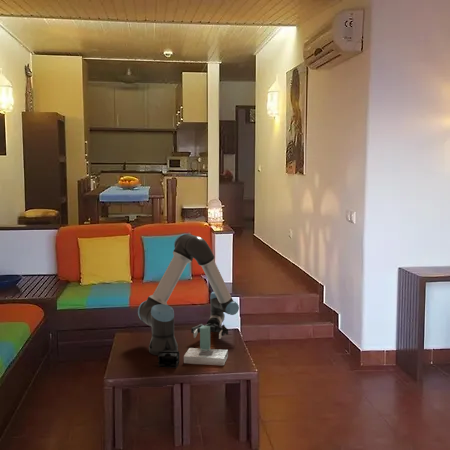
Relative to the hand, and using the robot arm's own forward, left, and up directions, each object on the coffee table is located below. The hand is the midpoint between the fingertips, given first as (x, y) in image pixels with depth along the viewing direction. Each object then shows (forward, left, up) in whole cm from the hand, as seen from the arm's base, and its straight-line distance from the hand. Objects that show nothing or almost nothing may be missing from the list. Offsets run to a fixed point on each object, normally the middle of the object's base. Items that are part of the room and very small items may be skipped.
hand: (206, 335), depth 299 cm
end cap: (-9, -27, -7) cm, 30 cm away
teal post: (0, -1, -7) cm, 7 cm away
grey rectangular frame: (+6, -15, -7) cm, 18 cm away
